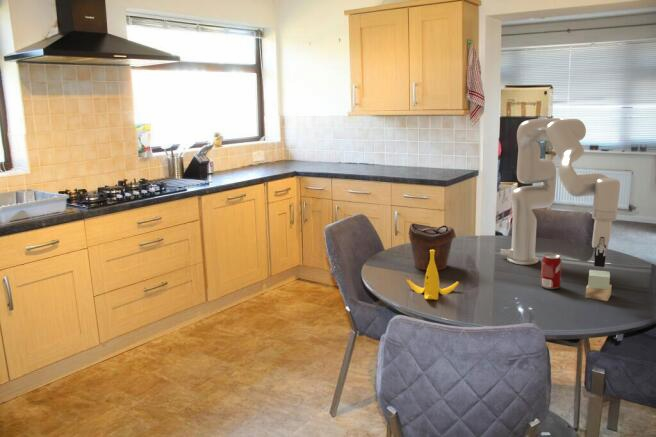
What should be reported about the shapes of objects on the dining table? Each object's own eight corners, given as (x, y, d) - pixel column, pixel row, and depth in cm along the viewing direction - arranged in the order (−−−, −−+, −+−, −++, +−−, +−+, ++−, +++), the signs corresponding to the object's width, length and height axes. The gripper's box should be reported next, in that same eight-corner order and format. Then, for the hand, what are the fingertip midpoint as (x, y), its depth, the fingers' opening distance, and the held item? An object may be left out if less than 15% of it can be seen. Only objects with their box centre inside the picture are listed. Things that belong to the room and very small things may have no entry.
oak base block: (585, 298, 205) (586, 287, 204) (589, 291, 211) (590, 281, 210) (607, 301, 201) (608, 290, 201) (610, 295, 207) (611, 284, 206)
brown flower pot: (464, 268, 239) (465, 225, 235) (421, 275, 232) (421, 231, 228) (440, 257, 255) (440, 217, 252) (400, 264, 248) (399, 223, 245)
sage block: (588, 287, 204) (589, 275, 203) (588, 281, 210) (589, 269, 209) (608, 289, 201) (609, 277, 200) (608, 283, 207) (609, 271, 206)
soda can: (550, 291, 212) (552, 259, 209) (536, 286, 218) (538, 254, 215) (564, 288, 215) (566, 256, 212) (549, 282, 221) (551, 252, 218)
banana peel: (429, 305, 202) (429, 259, 198) (405, 288, 220) (405, 244, 216) (471, 299, 207) (473, 253, 203) (445, 282, 224) (446, 240, 221)
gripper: (592, 207, 209) (587, 253, 213) (592, 219, 194) (586, 268, 198) (616, 209, 206) (610, 255, 210) (617, 221, 191) (611, 271, 195)
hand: (599, 262), depth 204 cm, fingers open, 9 cm apart
